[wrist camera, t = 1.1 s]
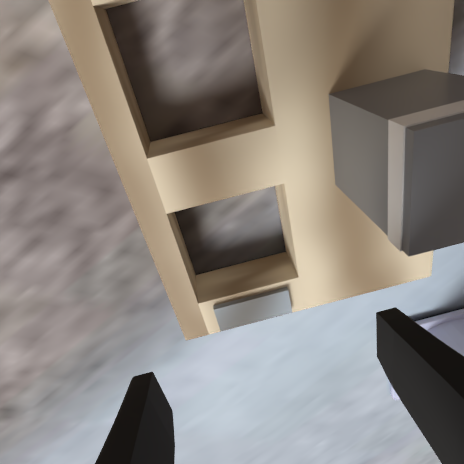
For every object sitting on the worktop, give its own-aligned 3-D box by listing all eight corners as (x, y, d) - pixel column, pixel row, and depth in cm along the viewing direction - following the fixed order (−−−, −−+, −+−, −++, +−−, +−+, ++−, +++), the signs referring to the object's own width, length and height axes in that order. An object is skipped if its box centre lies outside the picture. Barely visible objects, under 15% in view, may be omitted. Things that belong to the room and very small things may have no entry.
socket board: (421, -150, 13) (477, -191, 11) (406, 252, 22) (434, 279, 20) (45, -56, 13) (15, -75, 11) (185, 309, 22) (186, 344, 20)
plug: (426, 67, 14) (566, 89, 9) (421, 163, 17) (532, 225, 11) (327, 93, 14) (412, 130, 9) (334, 185, 16) (407, 258, 11)
